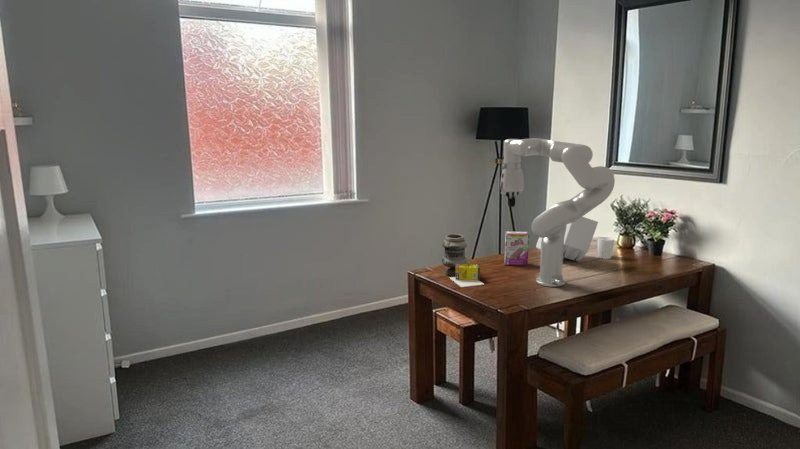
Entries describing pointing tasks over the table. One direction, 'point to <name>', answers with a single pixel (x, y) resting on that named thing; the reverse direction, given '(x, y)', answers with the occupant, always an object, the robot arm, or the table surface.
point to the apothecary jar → (454, 252)
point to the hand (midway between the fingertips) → (511, 206)
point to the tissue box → (576, 238)
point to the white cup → (605, 247)
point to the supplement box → (467, 272)
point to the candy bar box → (516, 248)
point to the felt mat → (466, 282)
